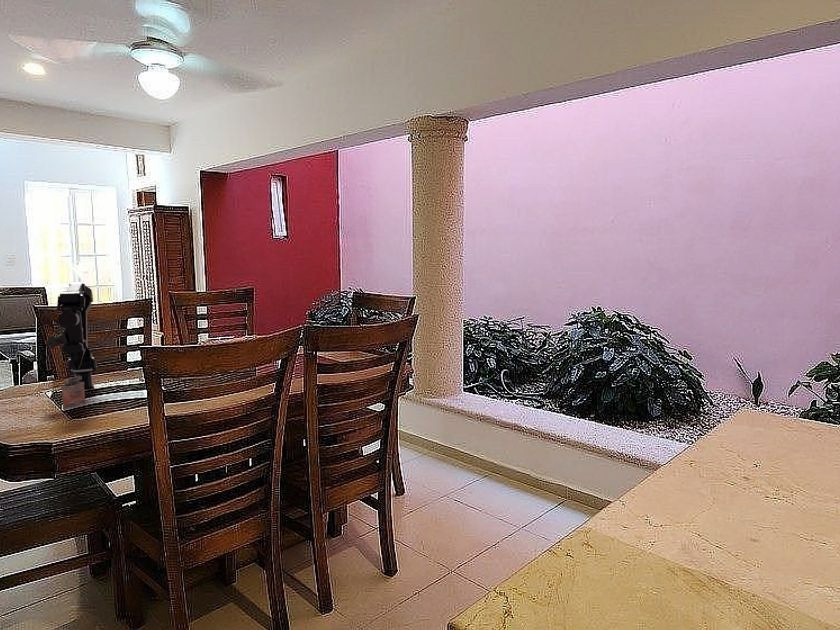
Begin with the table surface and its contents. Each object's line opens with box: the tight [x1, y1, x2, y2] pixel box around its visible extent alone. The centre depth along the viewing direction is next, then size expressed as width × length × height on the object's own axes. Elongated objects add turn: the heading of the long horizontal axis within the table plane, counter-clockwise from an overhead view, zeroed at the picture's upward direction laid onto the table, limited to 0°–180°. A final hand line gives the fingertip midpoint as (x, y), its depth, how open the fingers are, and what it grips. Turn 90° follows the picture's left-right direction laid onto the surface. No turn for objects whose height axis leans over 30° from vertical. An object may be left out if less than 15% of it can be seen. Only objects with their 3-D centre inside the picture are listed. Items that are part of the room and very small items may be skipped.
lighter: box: [60, 376, 87, 409], centre depth 199 cm, size 8×3×10 cm, turn 161°
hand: (77, 369), depth 208 cm, fingers closed
